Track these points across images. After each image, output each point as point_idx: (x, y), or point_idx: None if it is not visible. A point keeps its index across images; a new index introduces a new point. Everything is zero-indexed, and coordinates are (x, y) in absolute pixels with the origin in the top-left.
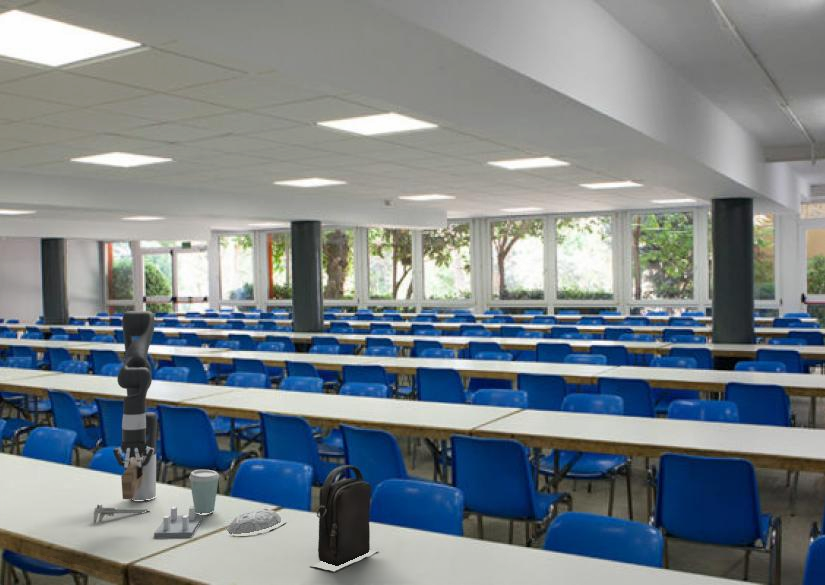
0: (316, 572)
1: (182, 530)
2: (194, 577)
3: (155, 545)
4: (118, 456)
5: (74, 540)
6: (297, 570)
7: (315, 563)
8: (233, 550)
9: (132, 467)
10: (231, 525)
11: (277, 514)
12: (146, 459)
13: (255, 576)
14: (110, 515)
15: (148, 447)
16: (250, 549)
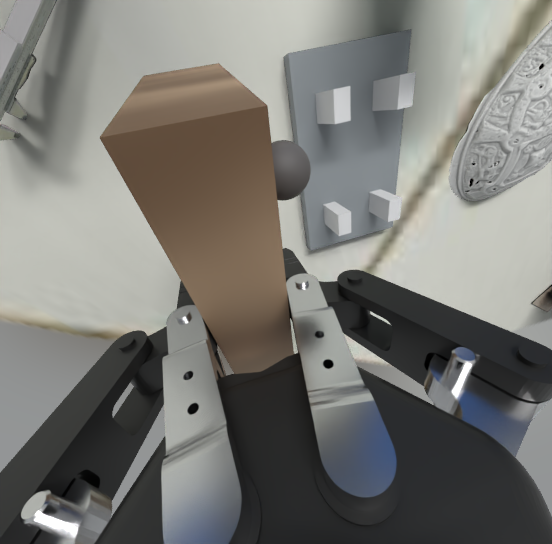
0: (531, 314)
1: (370, 218)
2: None
3: None
4: (117, 474)
5: (128, 304)
6: (514, 315)
7: (542, 290)
8: (456, 274)
9: (263, 350)
10: (482, 177)
11: None
12: (385, 350)
13: None
14: (28, 72)
15: (510, 452)
16: (481, 263)
